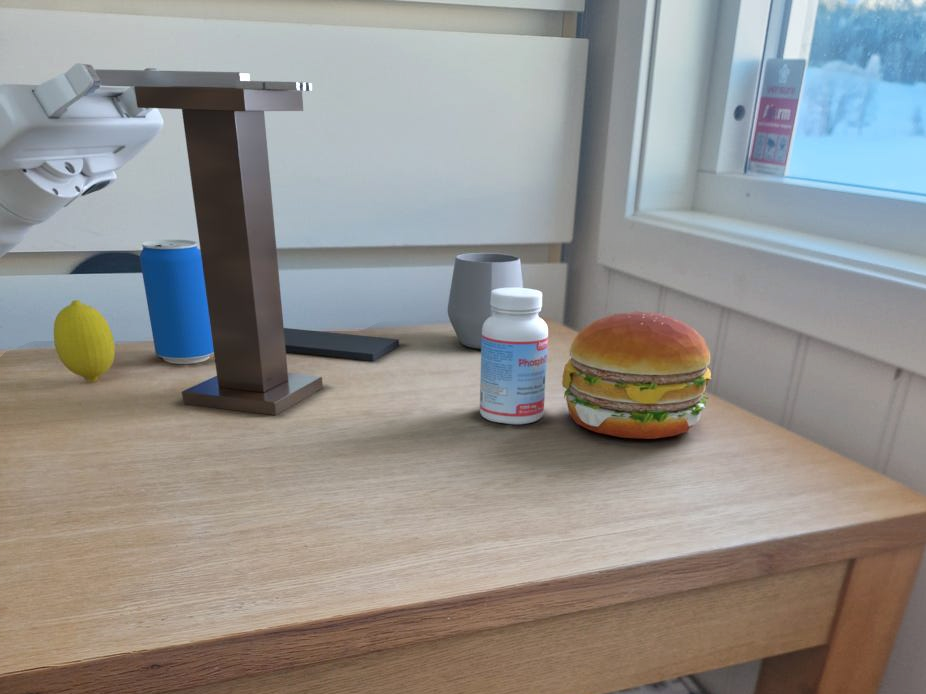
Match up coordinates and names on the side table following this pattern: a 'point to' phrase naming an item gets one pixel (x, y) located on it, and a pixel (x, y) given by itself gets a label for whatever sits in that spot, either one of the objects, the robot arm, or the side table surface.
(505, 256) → the cup
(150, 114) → the robot arm
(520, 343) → the pill bottle
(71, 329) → the lemon
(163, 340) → the beverage can
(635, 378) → the burger
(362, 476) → the side table surface
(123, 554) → the side table surface
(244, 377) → the stand
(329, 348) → the dark grey flat slab
